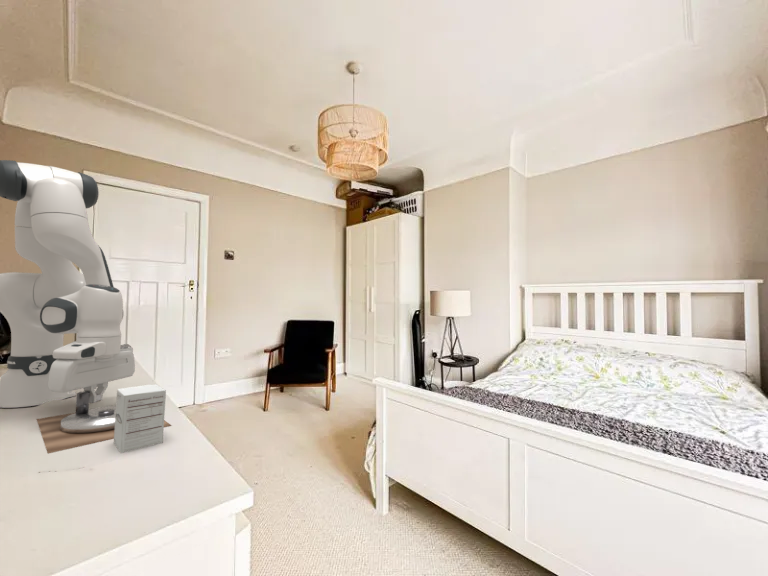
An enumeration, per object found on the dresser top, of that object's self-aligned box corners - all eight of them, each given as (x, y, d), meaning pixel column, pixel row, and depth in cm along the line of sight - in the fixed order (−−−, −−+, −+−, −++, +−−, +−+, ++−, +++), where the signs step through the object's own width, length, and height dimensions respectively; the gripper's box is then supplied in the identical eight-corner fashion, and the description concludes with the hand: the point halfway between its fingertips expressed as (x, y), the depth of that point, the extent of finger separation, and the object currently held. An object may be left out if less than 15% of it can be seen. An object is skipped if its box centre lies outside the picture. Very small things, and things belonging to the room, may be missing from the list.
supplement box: (112, 449, 69) (116, 388, 70) (154, 440, 75) (157, 383, 76) (118, 461, 64) (123, 395, 65) (163, 450, 70) (167, 389, 71)
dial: (169, 412, 88) (171, 387, 89) (116, 435, 72) (118, 405, 73) (105, 409, 90) (107, 384, 90) (39, 430, 74) (42, 401, 74)
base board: (35, 425, 82) (36, 418, 82) (138, 407, 98) (139, 401, 98) (47, 461, 64) (47, 452, 64) (171, 431, 80) (171, 424, 80)
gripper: (122, 342, 97) (119, 391, 96) (44, 352, 76) (39, 413, 75) (142, 343, 96) (139, 392, 95) (69, 353, 76) (65, 415, 75)
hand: (94, 401), depth 85 cm, fingers closed
